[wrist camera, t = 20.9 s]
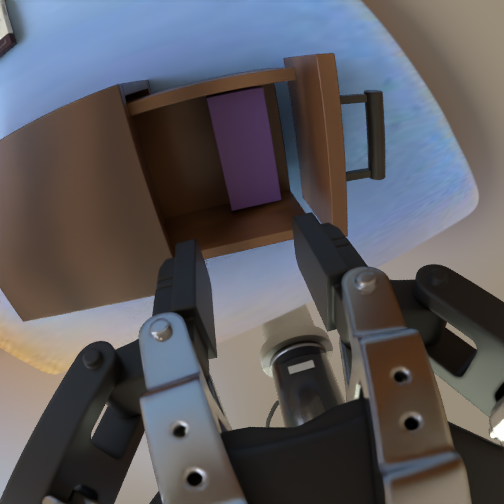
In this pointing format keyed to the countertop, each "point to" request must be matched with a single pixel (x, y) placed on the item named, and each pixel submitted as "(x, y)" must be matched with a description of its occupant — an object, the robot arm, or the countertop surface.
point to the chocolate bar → (5, 30)
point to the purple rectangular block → (245, 146)
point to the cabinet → (79, 209)
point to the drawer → (308, 148)
